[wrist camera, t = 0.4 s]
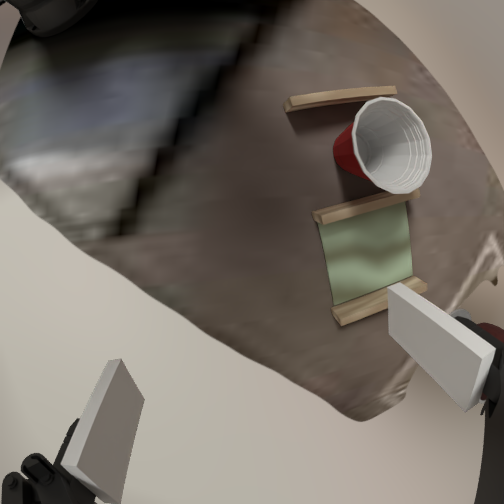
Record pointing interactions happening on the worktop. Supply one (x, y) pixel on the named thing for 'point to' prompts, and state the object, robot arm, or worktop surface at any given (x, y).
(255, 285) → the worktop surface
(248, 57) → the worktop surface
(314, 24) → the worktop surface
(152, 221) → the worktop surface
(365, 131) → the plastic cup
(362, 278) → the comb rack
